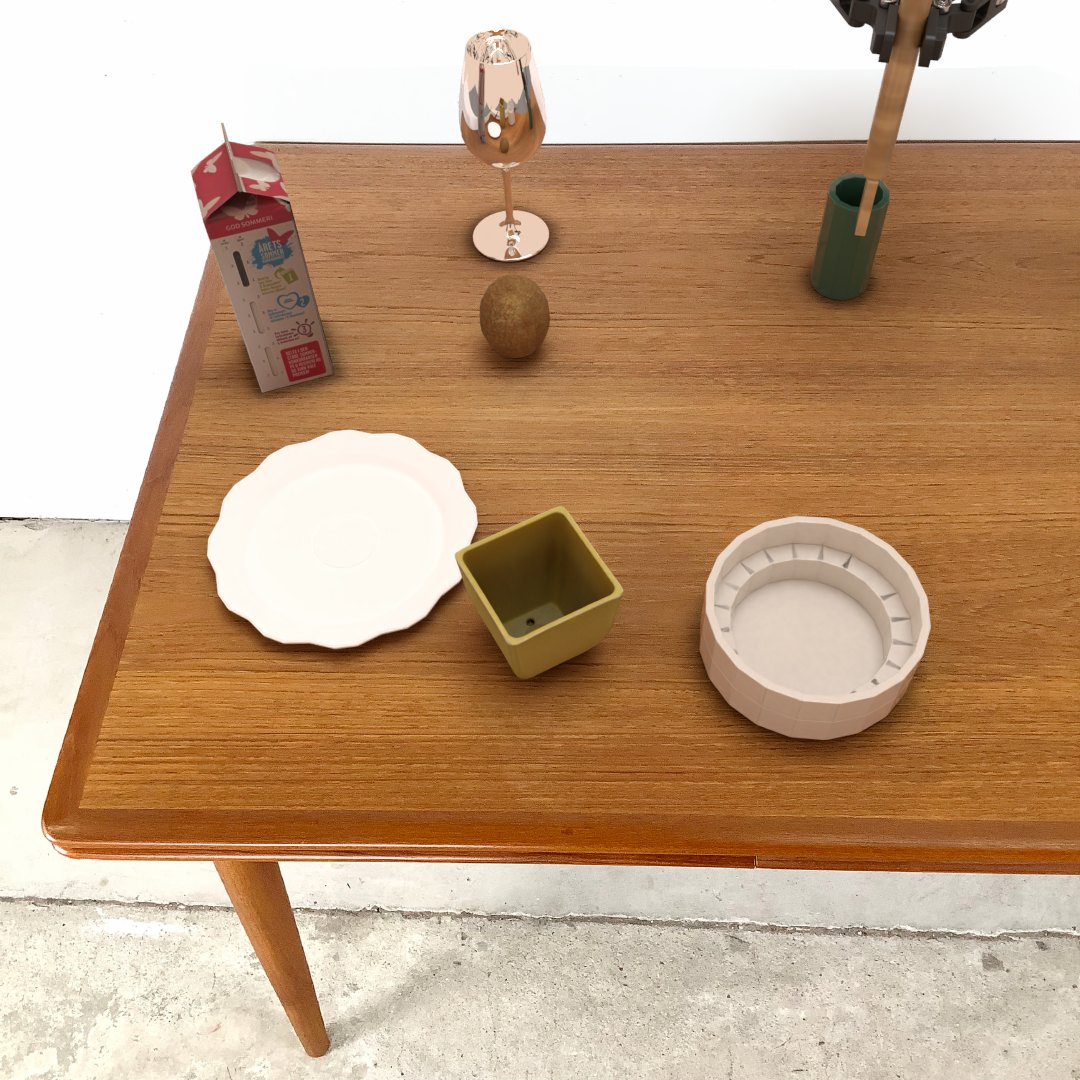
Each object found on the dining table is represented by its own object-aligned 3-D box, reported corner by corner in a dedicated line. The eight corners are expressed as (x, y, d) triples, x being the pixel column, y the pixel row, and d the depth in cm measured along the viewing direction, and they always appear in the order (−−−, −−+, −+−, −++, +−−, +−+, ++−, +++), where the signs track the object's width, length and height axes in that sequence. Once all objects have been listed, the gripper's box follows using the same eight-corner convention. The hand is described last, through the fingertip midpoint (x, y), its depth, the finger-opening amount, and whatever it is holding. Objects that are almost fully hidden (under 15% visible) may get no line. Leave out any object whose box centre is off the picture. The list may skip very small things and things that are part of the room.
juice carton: (319, 324, 104) (263, 113, 86) (334, 373, 100) (279, 163, 83) (248, 342, 103) (177, 132, 85) (261, 392, 99) (190, 183, 82)
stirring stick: (850, 213, 90) (922, -99, 70) (875, 216, 90) (955, -96, 70) (846, 234, 89) (919, -79, 69) (872, 237, 88) (953, -76, 69)
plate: (179, 641, 85) (172, 630, 83) (257, 433, 97) (253, 420, 95) (450, 670, 82) (448, 659, 81) (496, 454, 94) (495, 441, 93)
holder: (830, 255, 107) (850, 165, 99) (877, 278, 105) (901, 189, 97) (799, 283, 105) (816, 194, 97) (846, 308, 103) (868, 219, 95)
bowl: (777, 530, 89) (788, 482, 84) (949, 639, 82) (972, 594, 77) (657, 657, 82) (661, 613, 77) (833, 785, 76) (849, 747, 71)
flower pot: (565, 572, 87) (563, 501, 80) (623, 658, 82) (626, 591, 75) (463, 620, 85) (451, 552, 77) (517, 711, 80) (509, 647, 73)
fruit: (541, 319, 104) (538, 250, 97) (559, 366, 100) (557, 298, 93) (475, 333, 103) (467, 265, 96) (491, 381, 99) (484, 313, 93)
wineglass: (543, 267, 108) (535, 75, 91) (463, 259, 109) (441, 68, 92) (556, 215, 112) (551, 23, 96) (480, 208, 113) (462, 18, 97)
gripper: (839, -138, 82) (810, -14, 72) (1037, -122, 79) (1034, 8, 70) (821, -35, 88) (793, 91, 78) (1004, -18, 85) (998, 115, 76)
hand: (907, 51), depth 74 cm, fingers closed on stirring stick, 2 cm apart
